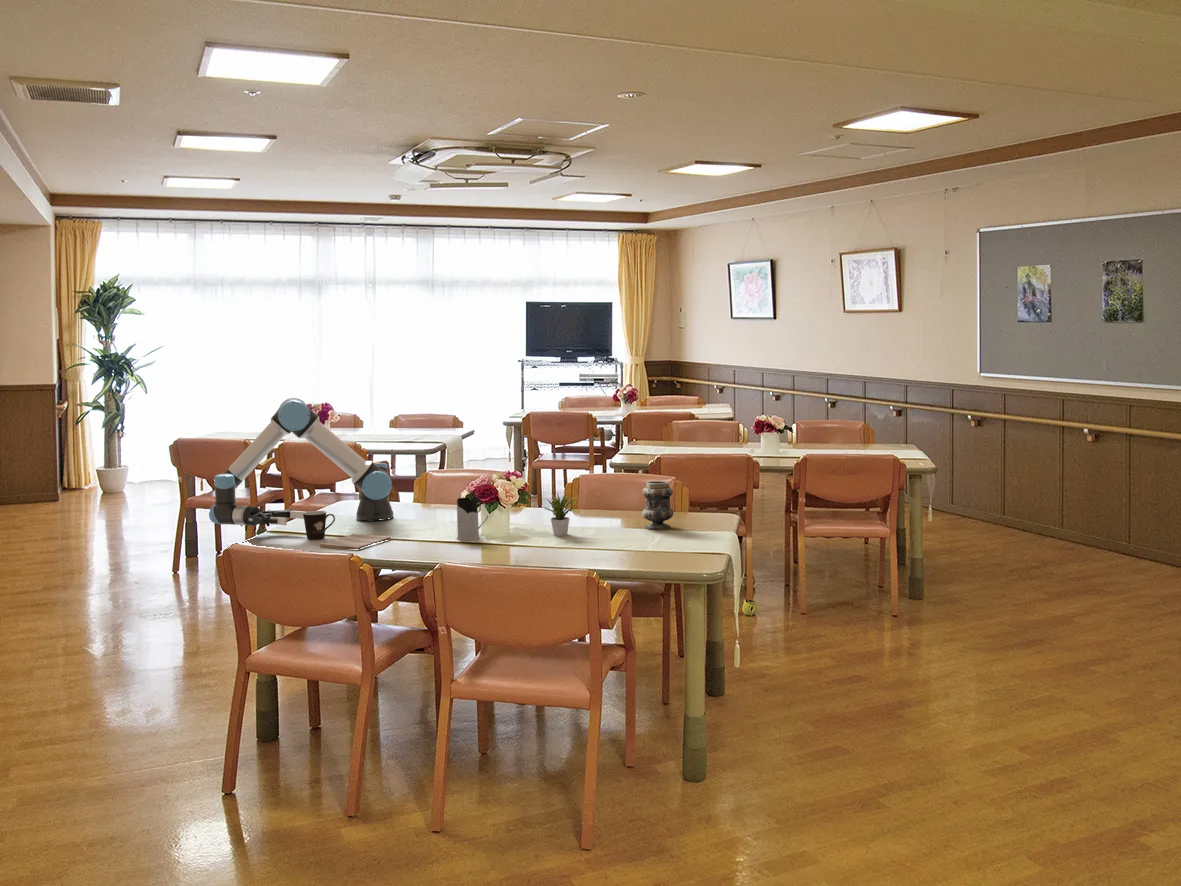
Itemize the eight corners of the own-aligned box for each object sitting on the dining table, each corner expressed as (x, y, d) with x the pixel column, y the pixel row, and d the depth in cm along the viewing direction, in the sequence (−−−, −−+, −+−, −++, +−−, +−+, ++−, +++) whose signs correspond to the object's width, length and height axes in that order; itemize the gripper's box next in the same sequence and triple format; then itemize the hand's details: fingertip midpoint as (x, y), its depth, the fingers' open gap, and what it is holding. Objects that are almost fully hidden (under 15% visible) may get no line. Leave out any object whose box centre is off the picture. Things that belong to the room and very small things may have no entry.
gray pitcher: (452, 538, 417) (451, 498, 415) (484, 533, 425) (483, 494, 424) (464, 541, 410) (462, 501, 408) (496, 536, 418) (495, 497, 417)
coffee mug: (303, 541, 416) (302, 515, 415) (304, 537, 424) (303, 511, 423) (335, 539, 418) (334, 513, 417) (335, 535, 426) (334, 509, 425)
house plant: (575, 539, 411) (574, 496, 409) (538, 538, 413) (537, 495, 412) (582, 531, 425) (582, 489, 423) (547, 531, 427) (546, 489, 425)
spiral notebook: (353, 536, 423) (353, 533, 423) (390, 539, 416) (390, 536, 416) (320, 547, 405) (320, 543, 405) (358, 550, 398) (358, 547, 398)
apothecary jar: (673, 524, 435) (673, 479, 433) (673, 530, 424) (672, 484, 421) (643, 524, 437) (642, 479, 435) (641, 530, 425) (640, 484, 423)
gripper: (266, 519, 441) (313, 522, 435) (228, 531, 418) (277, 534, 412) (265, 501, 441) (312, 503, 434) (227, 511, 417) (277, 514, 411)
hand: (295, 518), depth 423 cm, fingers open, 13 cm apart
